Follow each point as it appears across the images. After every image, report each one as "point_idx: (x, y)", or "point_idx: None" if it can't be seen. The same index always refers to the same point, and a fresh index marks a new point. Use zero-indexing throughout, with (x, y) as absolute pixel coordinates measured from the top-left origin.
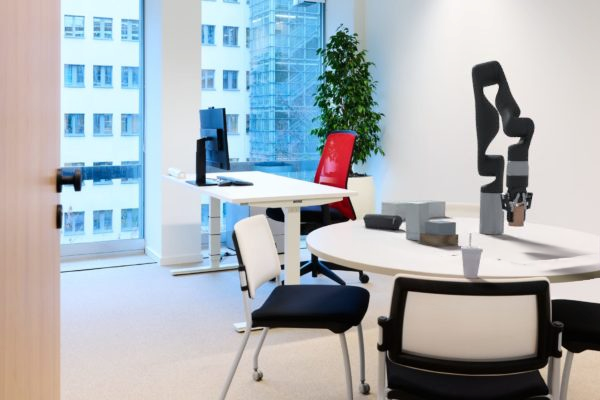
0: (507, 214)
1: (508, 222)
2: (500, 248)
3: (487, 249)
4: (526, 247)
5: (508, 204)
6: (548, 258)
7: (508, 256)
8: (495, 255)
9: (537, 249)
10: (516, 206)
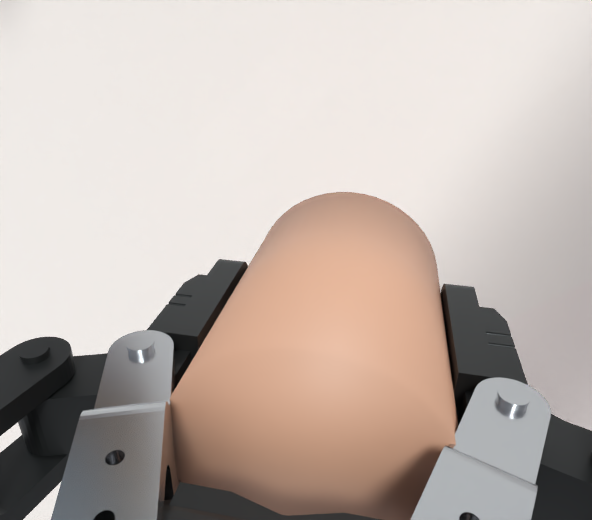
0: (158, 330)
1: (266, 237)
2: (298, 87)
3: (159, 76)
4: (553, 159)
5: (10, 509)
6: None
7: (100, 341)
8: (52, 285)
9: (515, 273)
10: (248, 498)
